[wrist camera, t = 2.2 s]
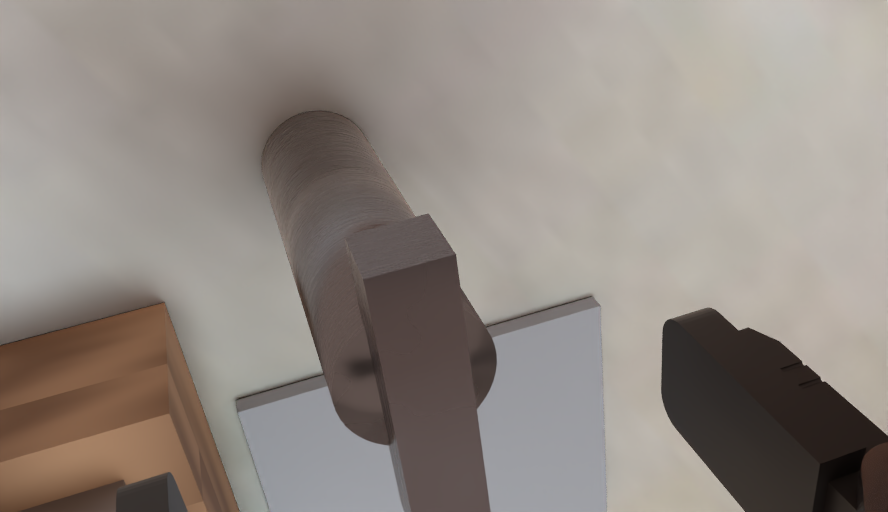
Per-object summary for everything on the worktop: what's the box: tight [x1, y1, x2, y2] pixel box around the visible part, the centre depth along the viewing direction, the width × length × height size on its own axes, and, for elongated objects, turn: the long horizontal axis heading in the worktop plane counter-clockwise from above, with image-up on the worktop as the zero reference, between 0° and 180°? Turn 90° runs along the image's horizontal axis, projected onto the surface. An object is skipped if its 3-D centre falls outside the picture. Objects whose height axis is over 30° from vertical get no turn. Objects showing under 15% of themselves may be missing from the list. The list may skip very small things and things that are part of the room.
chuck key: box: [261, 111, 497, 512], centre depth 18 cm, size 3×6×11 cm, turn 7°
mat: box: [236, 297, 607, 512], centre depth 29 cm, size 12×10×1 cm
